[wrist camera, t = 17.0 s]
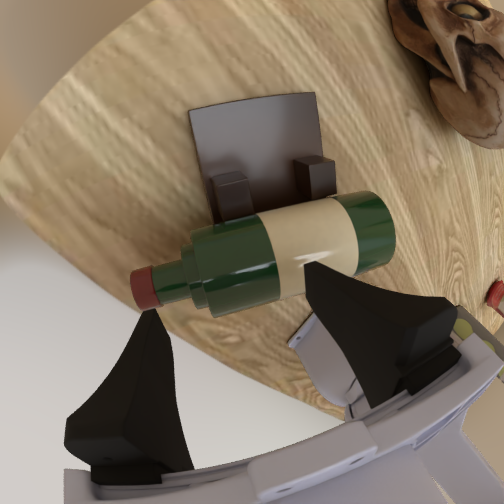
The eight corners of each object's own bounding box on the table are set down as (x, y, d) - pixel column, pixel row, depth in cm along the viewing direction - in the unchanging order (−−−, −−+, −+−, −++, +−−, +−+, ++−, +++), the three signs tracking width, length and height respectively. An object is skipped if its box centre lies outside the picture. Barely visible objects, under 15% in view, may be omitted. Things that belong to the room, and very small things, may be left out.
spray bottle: (463, 304, 40) (529, 366, 23) (451, 324, 42) (512, 387, 25) (454, 304, 39) (524, 373, 22) (441, 326, 41) (506, 395, 24)
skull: (392, -41, 11) (500, -50, 1) (468, 57, 20) (551, 79, 9) (346, 51, 17) (498, 60, 6) (438, 145, 26) (531, 189, 15)
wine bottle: (351, 180, 19) (400, 206, 15) (350, 244, 22) (390, 281, 17) (127, 232, 17) (112, 280, 12) (154, 297, 20) (152, 353, 15)
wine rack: (324, 271, 26) (343, 291, 23) (232, 300, 24) (242, 325, 21) (309, 92, 18) (333, 89, 15) (187, 111, 16) (190, 108, 13)
